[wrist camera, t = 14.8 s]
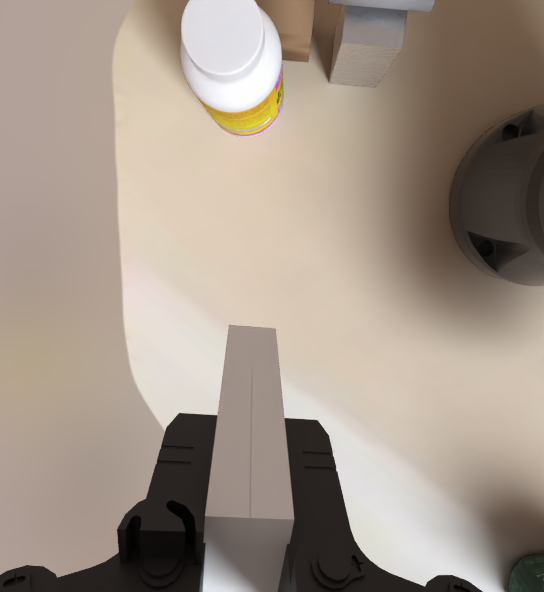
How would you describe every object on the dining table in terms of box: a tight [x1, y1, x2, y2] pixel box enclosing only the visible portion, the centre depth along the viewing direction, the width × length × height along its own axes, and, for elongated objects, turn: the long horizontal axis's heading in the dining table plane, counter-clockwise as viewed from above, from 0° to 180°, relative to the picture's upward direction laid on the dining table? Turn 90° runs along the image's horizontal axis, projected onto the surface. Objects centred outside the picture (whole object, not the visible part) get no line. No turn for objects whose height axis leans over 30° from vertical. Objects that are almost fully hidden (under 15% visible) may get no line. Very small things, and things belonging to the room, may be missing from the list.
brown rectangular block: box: [255, 0, 315, 62], centre depth 31 cm, size 8×3×5 cm, turn 85°
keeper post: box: [329, 5, 408, 87], centre depth 29 cm, size 4×4×8 cm
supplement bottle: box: [180, 0, 283, 137], centre depth 28 cm, size 7×7×13 cm
